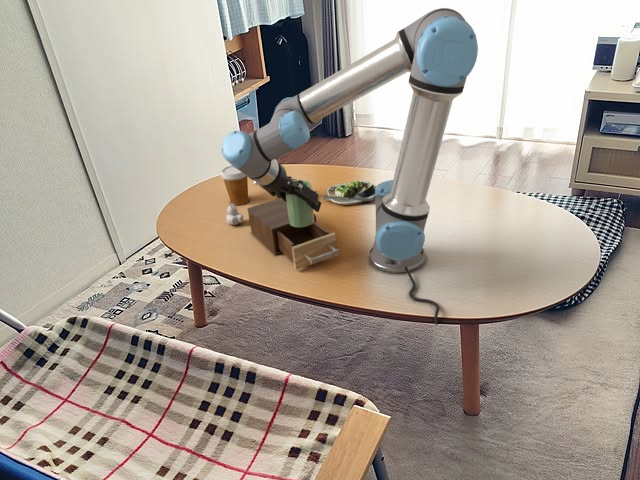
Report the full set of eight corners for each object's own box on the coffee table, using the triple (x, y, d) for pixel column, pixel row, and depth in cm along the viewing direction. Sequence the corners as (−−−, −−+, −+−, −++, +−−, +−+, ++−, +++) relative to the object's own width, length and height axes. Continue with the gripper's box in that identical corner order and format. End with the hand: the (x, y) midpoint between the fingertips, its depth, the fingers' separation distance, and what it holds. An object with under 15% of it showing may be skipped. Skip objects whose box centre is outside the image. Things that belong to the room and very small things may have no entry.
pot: (318, 222, 159) (315, 185, 152) (296, 229, 156) (291, 193, 150) (306, 213, 164) (303, 177, 157) (284, 220, 161) (280, 184, 155)
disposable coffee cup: (258, 198, 202) (253, 166, 195) (241, 209, 196) (235, 176, 189) (237, 194, 207) (232, 162, 200) (221, 204, 201) (214, 172, 193)
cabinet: (318, 240, 173) (315, 214, 168) (275, 255, 168) (271, 229, 163) (292, 219, 186) (289, 195, 181) (251, 233, 181) (247, 208, 176)
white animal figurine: (232, 219, 190) (228, 197, 186) (249, 222, 188) (245, 200, 183) (223, 226, 187) (219, 204, 182) (240, 229, 184) (235, 207, 179)
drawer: (348, 263, 159) (346, 242, 155) (306, 279, 154) (303, 257, 150) (310, 233, 176) (307, 213, 171) (271, 246, 171) (267, 226, 167)
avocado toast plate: (325, 212, 188) (324, 199, 186) (317, 191, 203) (316, 179, 200) (381, 203, 190) (381, 191, 187) (369, 183, 204) (369, 171, 202)
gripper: (230, 181, 144) (273, 211, 165) (296, 192, 135) (333, 223, 156) (239, 153, 145) (281, 187, 165) (305, 163, 135) (341, 198, 156)
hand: (306, 205), depth 160 cm, fingers closed on pot, 7 cm apart
